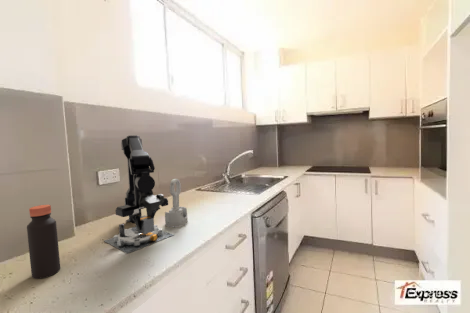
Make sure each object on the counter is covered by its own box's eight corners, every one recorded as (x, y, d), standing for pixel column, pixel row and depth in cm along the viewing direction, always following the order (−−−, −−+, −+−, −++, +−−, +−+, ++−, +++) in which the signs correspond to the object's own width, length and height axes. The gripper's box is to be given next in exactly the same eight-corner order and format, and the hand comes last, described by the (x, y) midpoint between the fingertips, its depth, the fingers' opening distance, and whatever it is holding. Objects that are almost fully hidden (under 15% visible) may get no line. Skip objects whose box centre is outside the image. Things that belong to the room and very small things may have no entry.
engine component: (161, 226, 108) (182, 227, 106) (158, 181, 107) (179, 181, 105) (172, 218, 119) (191, 219, 117) (169, 177, 118) (189, 177, 116)
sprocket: (109, 250, 85) (108, 232, 84) (118, 232, 102) (116, 217, 101) (162, 241, 90) (161, 224, 90) (162, 226, 107) (161, 211, 107)
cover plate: (103, 241, 94) (103, 240, 94) (147, 226, 109) (147, 226, 109) (127, 253, 82) (127, 253, 82) (173, 235, 97) (173, 234, 97)
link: (136, 231, 93) (135, 218, 92) (145, 227, 96) (145, 215, 96) (144, 234, 89) (143, 220, 89) (154, 230, 92) (153, 217, 92)
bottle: (44, 267, 76) (38, 204, 74) (65, 266, 75) (60, 203, 74) (25, 279, 69) (18, 210, 68) (48, 279, 69) (41, 209, 67)
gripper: (128, 195, 79) (132, 241, 80) (175, 185, 94) (178, 224, 95) (113, 191, 86) (116, 234, 87) (159, 183, 101) (161, 220, 102)
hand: (145, 228), depth 92 cm, fingers closed on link, 4 cm apart
